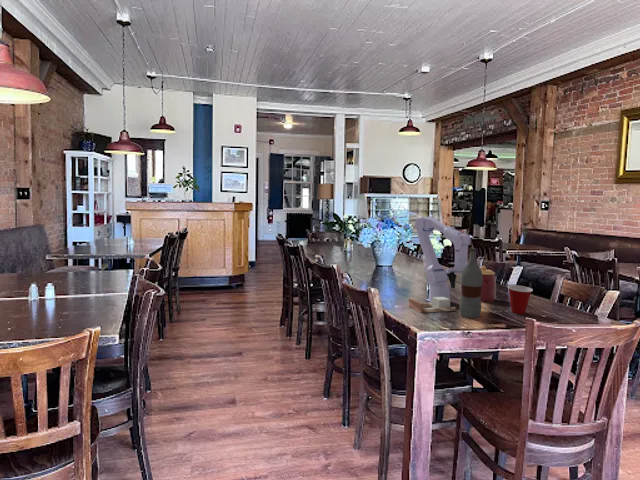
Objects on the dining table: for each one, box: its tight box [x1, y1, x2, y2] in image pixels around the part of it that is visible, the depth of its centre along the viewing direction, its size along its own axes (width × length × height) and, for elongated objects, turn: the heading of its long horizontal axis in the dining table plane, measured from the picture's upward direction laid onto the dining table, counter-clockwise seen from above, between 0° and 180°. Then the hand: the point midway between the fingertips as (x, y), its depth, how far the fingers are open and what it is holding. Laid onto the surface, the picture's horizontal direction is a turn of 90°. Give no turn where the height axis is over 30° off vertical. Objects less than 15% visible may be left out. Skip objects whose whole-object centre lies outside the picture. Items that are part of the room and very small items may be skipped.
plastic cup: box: [507, 284, 534, 315], centre depth 216 cm, size 11×11×12 cm
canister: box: [480, 265, 497, 302], centre depth 245 cm, size 13×13×18 cm
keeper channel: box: [408, 298, 456, 314], centre depth 222 cm, size 18×11×4 cm, turn 107°
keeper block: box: [431, 297, 451, 308], centre depth 223 cm, size 6×6×5 cm
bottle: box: [459, 248, 483, 319], centre depth 208 cm, size 9×9×30 cm
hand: (459, 287), depth 225 cm, fingers open, 7 cm apart
